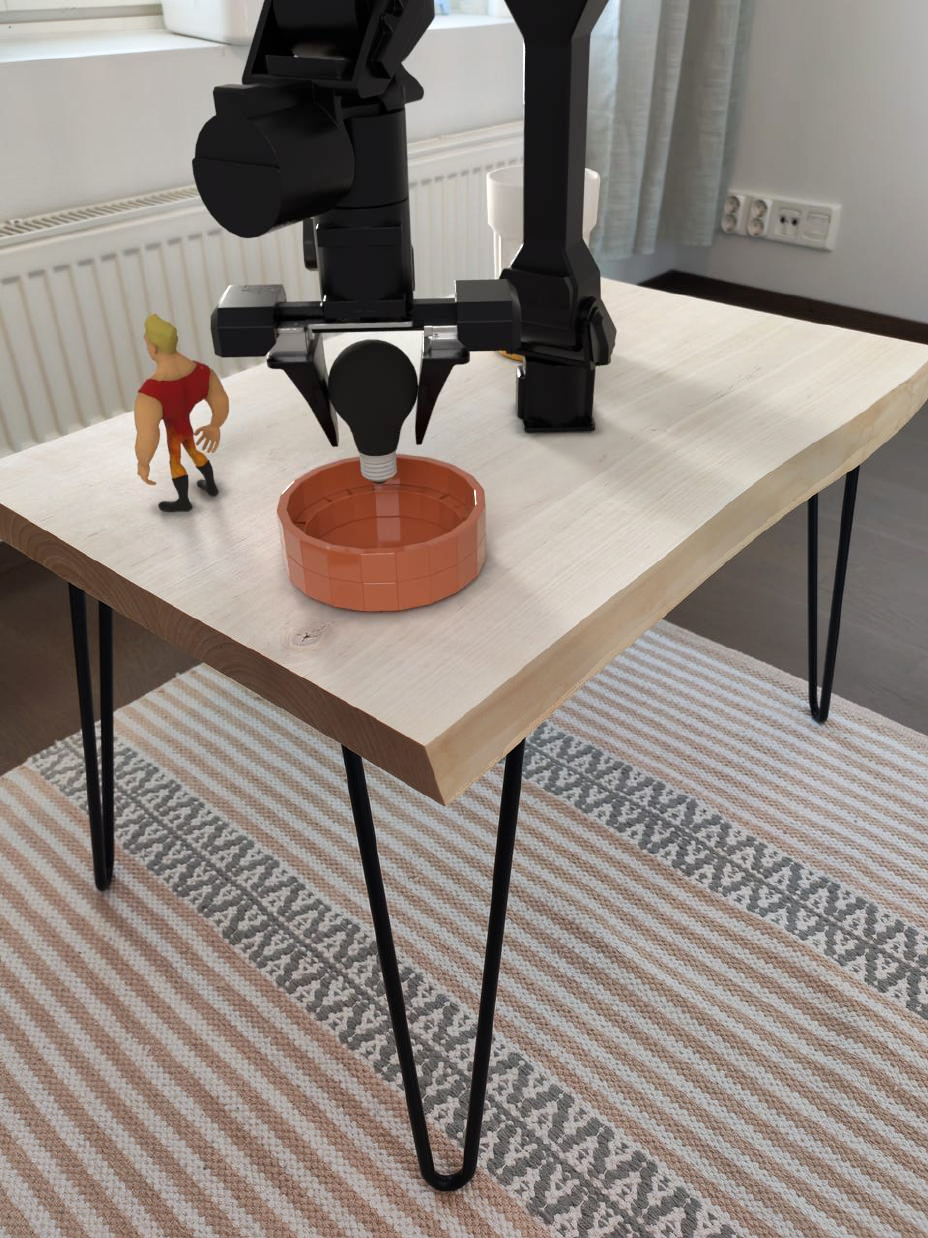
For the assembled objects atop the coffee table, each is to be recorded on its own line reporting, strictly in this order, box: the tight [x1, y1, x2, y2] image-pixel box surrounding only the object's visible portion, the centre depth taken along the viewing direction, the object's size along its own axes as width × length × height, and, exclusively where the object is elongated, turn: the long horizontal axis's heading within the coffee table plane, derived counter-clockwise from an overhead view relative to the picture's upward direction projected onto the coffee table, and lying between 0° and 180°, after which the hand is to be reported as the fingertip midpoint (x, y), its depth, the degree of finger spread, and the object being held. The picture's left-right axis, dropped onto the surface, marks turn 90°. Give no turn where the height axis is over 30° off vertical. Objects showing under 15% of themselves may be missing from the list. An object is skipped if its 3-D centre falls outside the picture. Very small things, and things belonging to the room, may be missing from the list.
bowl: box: [276, 453, 487, 612], centre depth 70 cm, size 14×14×5 cm
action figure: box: [133, 313, 230, 513], centre depth 75 cm, size 10×4×15 cm, turn 149°
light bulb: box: [328, 338, 419, 485], centre depth 65 cm, size 6×6×10 cm
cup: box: [486, 164, 601, 362], centre depth 101 cm, size 11×11×17 cm
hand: (377, 443), depth 66 cm, fingers closed on light bulb, 5 cm apart
